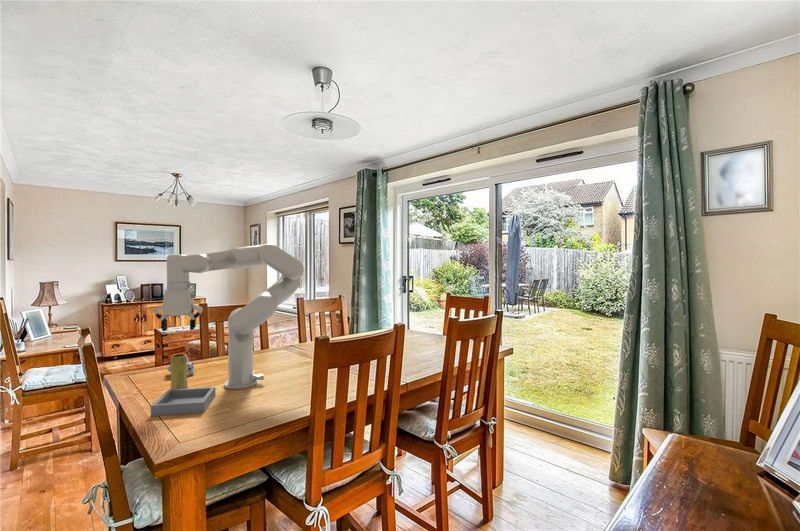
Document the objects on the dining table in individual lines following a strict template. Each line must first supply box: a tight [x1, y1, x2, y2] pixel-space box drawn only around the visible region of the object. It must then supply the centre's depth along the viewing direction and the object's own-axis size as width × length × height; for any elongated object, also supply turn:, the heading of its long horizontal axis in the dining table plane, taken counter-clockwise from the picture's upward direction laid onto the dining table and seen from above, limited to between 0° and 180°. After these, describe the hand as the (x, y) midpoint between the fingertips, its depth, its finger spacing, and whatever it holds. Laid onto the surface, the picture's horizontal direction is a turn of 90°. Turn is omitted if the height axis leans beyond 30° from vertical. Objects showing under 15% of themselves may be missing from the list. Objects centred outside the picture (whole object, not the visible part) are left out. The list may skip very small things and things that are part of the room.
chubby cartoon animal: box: [167, 356, 196, 376], centre depth 173 cm, size 7×12×8 cm, turn 75°
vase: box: [169, 353, 189, 390], centre depth 150 cm, size 6×6×14 cm
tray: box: [150, 386, 216, 417], centre depth 136 cm, size 16×16×4 cm
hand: (178, 330), depth 149 cm, fingers open, 9 cm apart
